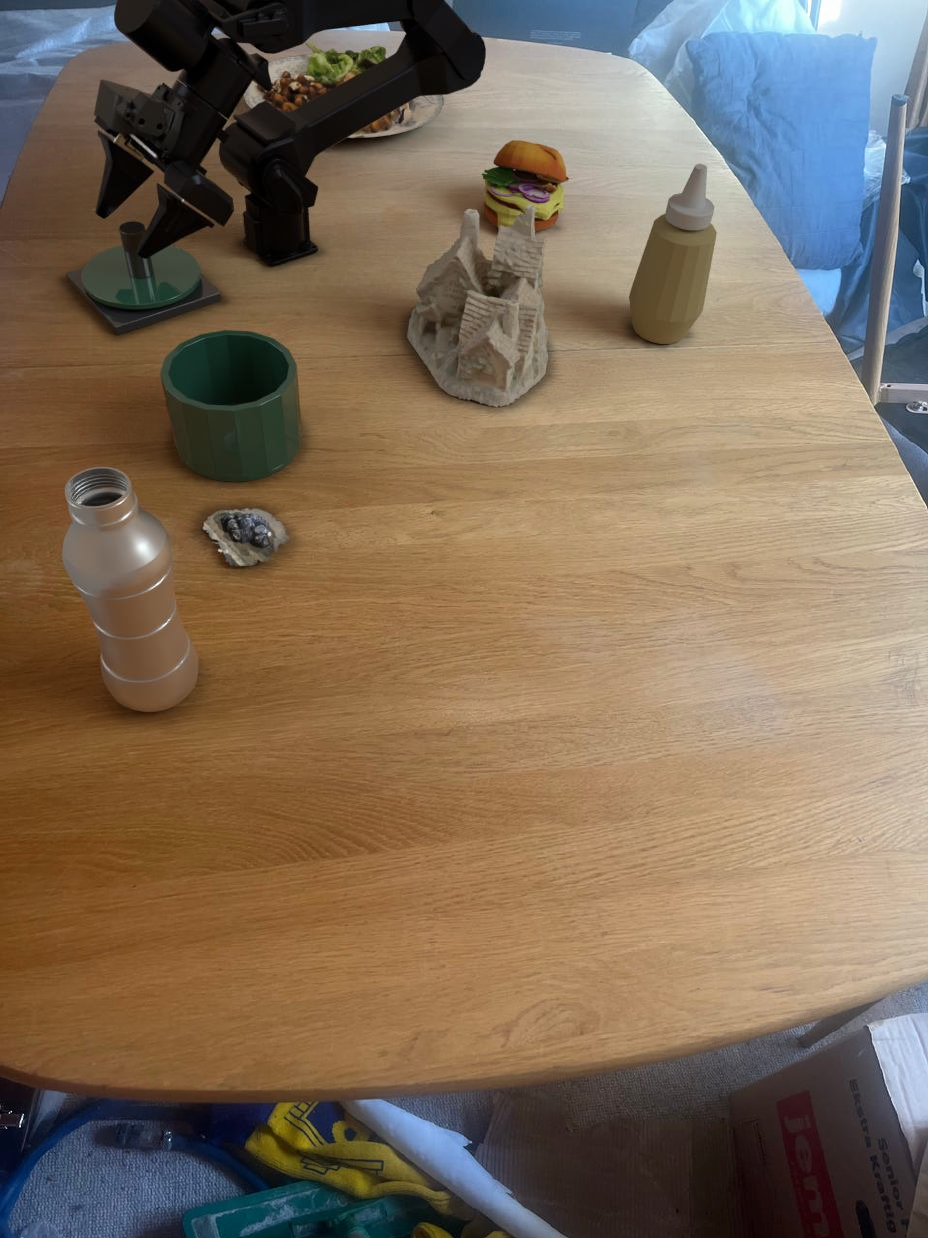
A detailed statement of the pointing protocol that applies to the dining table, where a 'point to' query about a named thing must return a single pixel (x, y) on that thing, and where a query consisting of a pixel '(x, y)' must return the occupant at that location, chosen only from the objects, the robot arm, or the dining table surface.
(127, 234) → the pot lid
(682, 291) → the squeeze bottle
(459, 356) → the ceramic cottage
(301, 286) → the dining table surface
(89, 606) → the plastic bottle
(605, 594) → the dining table surface
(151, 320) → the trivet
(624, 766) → the dining table surface
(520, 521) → the dining table surface
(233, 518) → the grey lumpy flat piece
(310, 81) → the plate of food
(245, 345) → the pot
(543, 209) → the cheeseburger
